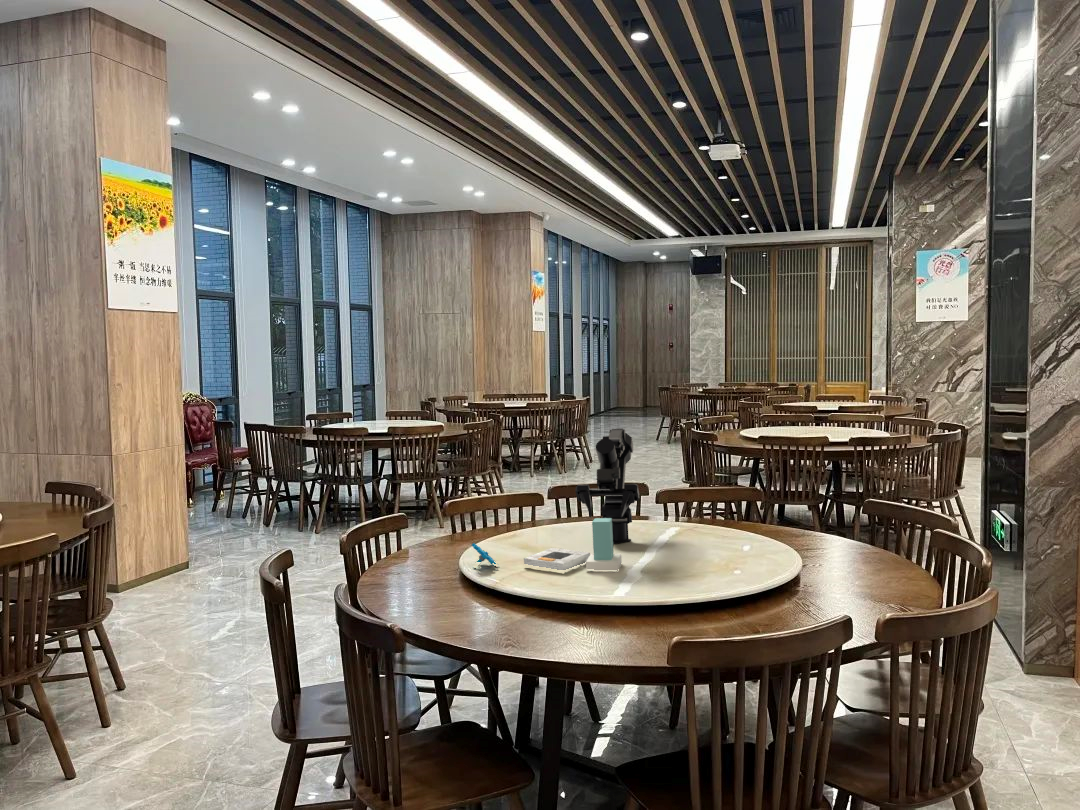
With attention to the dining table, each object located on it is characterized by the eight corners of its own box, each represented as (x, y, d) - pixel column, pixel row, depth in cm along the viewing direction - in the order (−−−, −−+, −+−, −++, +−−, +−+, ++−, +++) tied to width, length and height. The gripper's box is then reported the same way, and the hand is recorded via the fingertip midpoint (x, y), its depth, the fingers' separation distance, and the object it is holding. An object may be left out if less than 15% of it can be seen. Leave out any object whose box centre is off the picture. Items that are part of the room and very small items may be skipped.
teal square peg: (596, 555, 257) (594, 518, 256) (613, 555, 256) (611, 518, 255) (593, 559, 252) (592, 521, 251) (611, 560, 251) (609, 521, 250)
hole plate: (552, 557, 270) (551, 547, 270) (590, 562, 261) (590, 551, 261) (524, 568, 259) (523, 557, 258) (563, 574, 250) (562, 562, 250)
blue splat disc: (500, 565, 257) (474, 542, 257) (486, 581, 256) (460, 558, 256) (499, 561, 268) (474, 539, 268) (486, 576, 267) (461, 554, 267)
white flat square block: (591, 563, 260) (590, 553, 260) (621, 563, 258) (621, 553, 258) (586, 572, 251) (585, 561, 251) (618, 572, 249) (617, 561, 249)
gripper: (574, 458, 267) (570, 501, 257) (636, 457, 263) (634, 501, 253) (580, 479, 275) (576, 522, 266) (640, 478, 271) (638, 521, 262)
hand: (605, 516), depth 261 cm, fingers open, 9 cm apart
